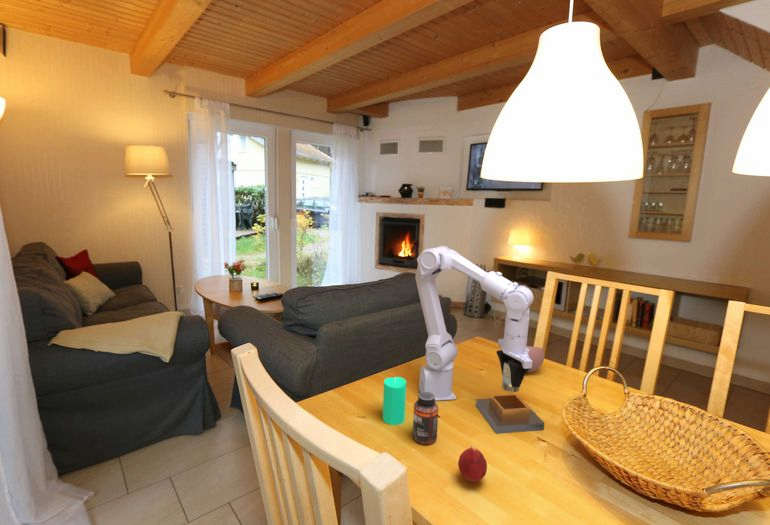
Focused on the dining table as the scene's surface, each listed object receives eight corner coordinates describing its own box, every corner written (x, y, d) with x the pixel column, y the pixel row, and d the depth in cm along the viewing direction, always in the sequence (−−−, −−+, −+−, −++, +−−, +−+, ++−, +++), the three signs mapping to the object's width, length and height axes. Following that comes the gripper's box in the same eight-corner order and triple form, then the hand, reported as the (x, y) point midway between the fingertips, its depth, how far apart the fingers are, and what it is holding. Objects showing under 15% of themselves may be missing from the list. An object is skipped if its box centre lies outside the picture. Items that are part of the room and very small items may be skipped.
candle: (407, 414, 104) (409, 373, 102) (402, 427, 98) (404, 383, 96) (385, 410, 106) (387, 369, 103) (379, 422, 100) (380, 379, 98)
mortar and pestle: (535, 363, 138) (538, 333, 136) (547, 379, 126) (551, 346, 124) (501, 362, 139) (504, 331, 137) (510, 377, 127) (514, 345, 125)
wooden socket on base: (496, 433, 97) (497, 417, 96) (475, 405, 109) (477, 391, 109) (543, 430, 99) (545, 414, 98) (518, 402, 112) (519, 388, 111)
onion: (490, 480, 81) (493, 446, 79) (476, 495, 77) (480, 459, 75) (466, 466, 85) (468, 434, 83) (451, 480, 80) (454, 446, 79)
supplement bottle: (436, 431, 97) (439, 390, 95) (437, 447, 91) (440, 403, 89) (412, 429, 97) (414, 388, 95) (411, 444, 92) (414, 401, 89)
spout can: (506, 392, 100) (509, 367, 99) (498, 384, 104) (501, 360, 103) (528, 391, 101) (531, 366, 100) (520, 383, 105) (522, 359, 104)
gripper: (545, 343, 93) (540, 395, 96) (516, 323, 107) (511, 368, 110) (518, 344, 92) (513, 396, 95) (492, 324, 106) (488, 370, 109)
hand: (511, 381), depth 102 cm, fingers closed on spout can, 4 cm apart
